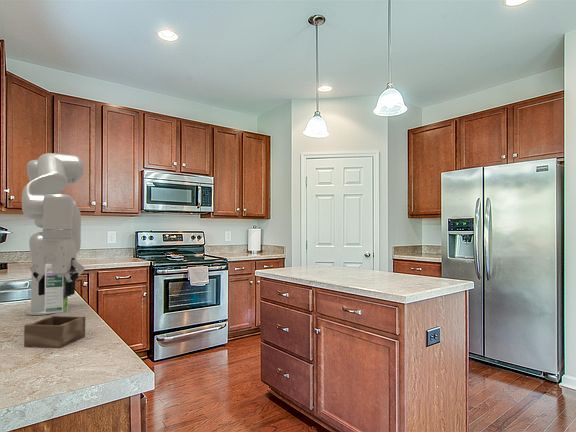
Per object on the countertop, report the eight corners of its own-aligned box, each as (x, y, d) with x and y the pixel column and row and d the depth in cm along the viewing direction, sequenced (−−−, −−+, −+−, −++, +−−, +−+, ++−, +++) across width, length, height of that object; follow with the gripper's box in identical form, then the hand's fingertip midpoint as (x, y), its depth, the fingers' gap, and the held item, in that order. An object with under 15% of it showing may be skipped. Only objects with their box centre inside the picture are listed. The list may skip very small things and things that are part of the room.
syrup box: (43, 314, 106) (44, 263, 106) (46, 310, 111) (47, 261, 111) (66, 312, 108) (67, 262, 109) (68, 308, 113) (69, 261, 114)
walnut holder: (52, 335, 115) (52, 316, 115) (85, 336, 114) (85, 316, 114) (24, 346, 104) (24, 325, 105) (60, 348, 103) (60, 326, 104)
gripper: (20, 236, 107) (19, 296, 107) (76, 236, 105) (75, 297, 105) (40, 235, 115) (39, 292, 114) (92, 235, 113) (92, 293, 112)
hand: (56, 294), depth 110 cm, fingers closed on syrup box, 7 cm apart
